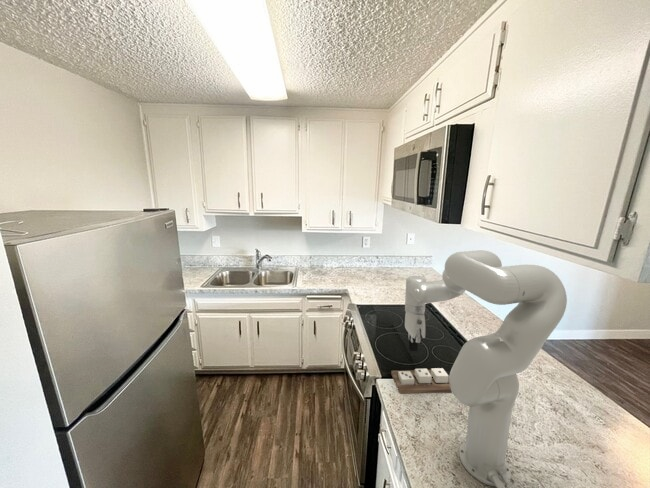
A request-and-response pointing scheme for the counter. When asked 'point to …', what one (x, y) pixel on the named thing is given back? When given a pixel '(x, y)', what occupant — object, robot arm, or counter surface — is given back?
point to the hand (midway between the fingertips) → (412, 349)
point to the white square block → (405, 378)
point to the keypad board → (420, 388)
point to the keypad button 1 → (439, 375)
